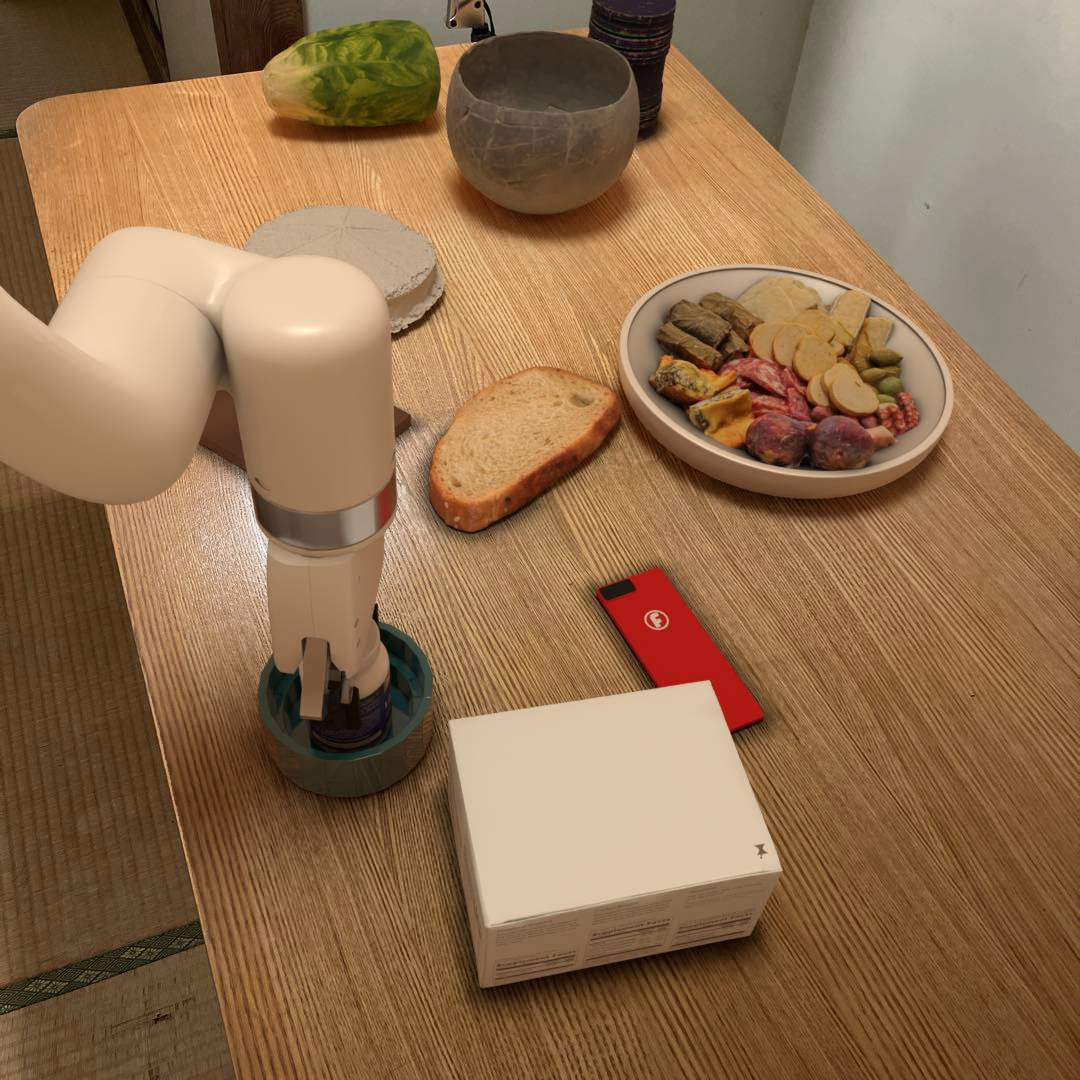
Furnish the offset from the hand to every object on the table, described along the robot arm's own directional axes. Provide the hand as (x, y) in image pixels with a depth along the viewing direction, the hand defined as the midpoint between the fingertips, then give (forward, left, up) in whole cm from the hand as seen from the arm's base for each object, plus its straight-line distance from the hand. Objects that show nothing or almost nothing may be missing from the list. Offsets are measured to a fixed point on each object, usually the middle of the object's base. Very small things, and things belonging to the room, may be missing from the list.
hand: (345, 680), depth 70 cm
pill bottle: (0, 0, -5) cm, 5 cm away
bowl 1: (-29, +65, -6) cm, 71 cm away
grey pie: (-34, +38, -6) cm, 51 cm away
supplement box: (+19, +1, -6) cm, 20 cm away
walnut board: (-24, +20, -6) cm, 32 cm away
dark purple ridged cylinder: (-31, +86, -6) cm, 92 cm away
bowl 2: (+8, +50, -6) cm, 51 cm away
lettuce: (-55, +64, -6) cm, 85 cm away
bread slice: (-6, +30, -6) cm, 31 cm away
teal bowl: (0, 0, -6) cm, 6 cm away
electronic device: (+15, +19, -6) cm, 25 cm away
